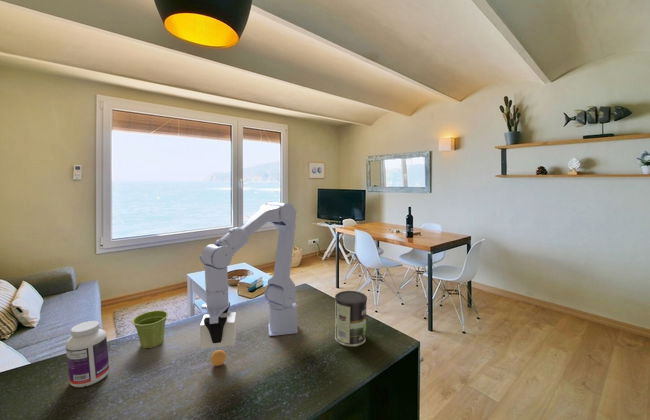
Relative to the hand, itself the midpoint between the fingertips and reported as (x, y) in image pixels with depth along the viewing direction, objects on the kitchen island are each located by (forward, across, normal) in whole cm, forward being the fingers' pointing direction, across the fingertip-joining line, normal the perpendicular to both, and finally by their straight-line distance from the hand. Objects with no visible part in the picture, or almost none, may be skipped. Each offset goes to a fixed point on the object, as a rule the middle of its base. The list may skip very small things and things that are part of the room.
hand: (218, 335), depth 80 cm
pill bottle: (+9, -1, -32) cm, 33 cm away
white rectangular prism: (+2, 0, 0) cm, 2 cm away
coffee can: (+9, -5, +40) cm, 41 cm away
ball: (+6, 0, 0) cm, 6 cm away
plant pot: (+9, -15, -22) cm, 28 cm away
